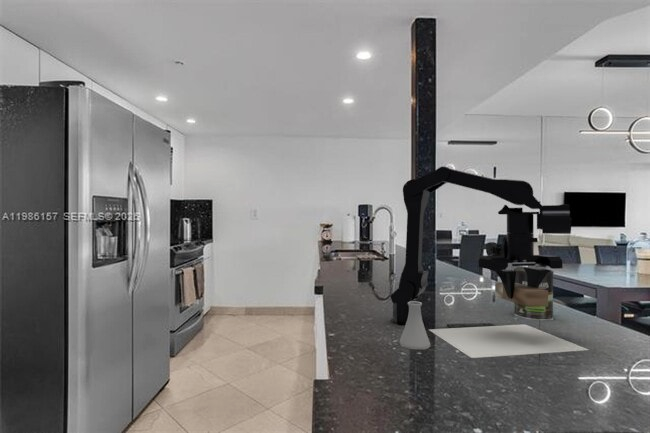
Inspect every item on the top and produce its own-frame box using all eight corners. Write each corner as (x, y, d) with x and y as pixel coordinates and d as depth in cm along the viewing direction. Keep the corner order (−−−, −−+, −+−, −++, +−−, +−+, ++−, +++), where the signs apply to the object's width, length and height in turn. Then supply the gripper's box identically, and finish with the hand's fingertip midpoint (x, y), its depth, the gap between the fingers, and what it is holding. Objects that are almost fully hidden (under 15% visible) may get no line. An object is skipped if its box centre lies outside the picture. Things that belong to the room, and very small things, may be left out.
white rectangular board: (471, 360, 76) (471, 357, 76) (428, 331, 96) (428, 329, 96) (589, 352, 81) (589, 349, 81) (525, 326, 100) (525, 324, 100)
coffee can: (557, 323, 103) (556, 272, 103) (515, 319, 107) (515, 271, 107) (550, 314, 113) (549, 268, 113) (512, 311, 117) (512, 266, 117)
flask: (432, 343, 87) (432, 300, 87) (430, 353, 80) (430, 307, 80) (400, 339, 89) (400, 298, 89) (396, 349, 82) (396, 304, 82)
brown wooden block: (548, 306, 84) (548, 290, 84) (528, 307, 83) (528, 291, 83) (513, 295, 95) (512, 282, 96) (495, 296, 95) (495, 282, 95)
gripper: (530, 232, 99) (531, 290, 99) (466, 232, 96) (466, 292, 96) (564, 233, 88) (564, 299, 88) (492, 233, 85) (492, 302, 85)
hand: (520, 298), depth 89 cm, fingers closed on brown wooden block, 5 cm apart
